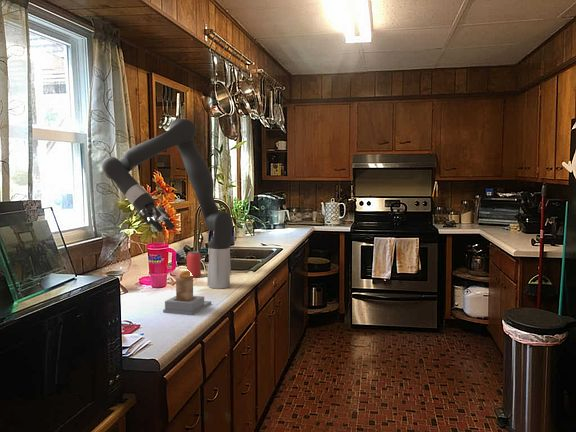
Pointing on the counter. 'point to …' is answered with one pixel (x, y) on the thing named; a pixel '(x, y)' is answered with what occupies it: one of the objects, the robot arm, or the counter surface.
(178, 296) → the brown bottle
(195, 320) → the counter surface
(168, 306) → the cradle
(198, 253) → the beer can
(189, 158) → the robot arm
